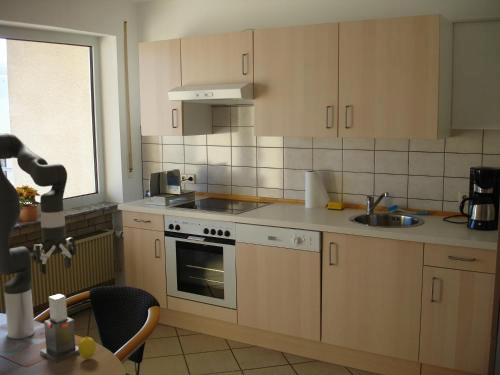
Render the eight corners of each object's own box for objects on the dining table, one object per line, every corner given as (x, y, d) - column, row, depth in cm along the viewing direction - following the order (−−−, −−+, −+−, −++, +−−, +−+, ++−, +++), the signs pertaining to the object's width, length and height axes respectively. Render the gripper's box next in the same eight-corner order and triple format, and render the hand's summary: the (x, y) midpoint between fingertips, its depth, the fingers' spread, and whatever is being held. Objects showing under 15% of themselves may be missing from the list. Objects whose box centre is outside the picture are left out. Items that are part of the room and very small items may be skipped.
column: (52, 349, 187) (48, 296, 184) (63, 345, 190) (59, 293, 187) (58, 352, 184) (54, 299, 181) (69, 348, 187) (66, 296, 185)
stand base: (40, 354, 187) (37, 321, 185) (66, 344, 194) (64, 312, 193) (55, 362, 180) (52, 328, 179) (82, 352, 188) (79, 319, 186)
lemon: (91, 363, 179) (90, 340, 178) (76, 362, 181) (74, 339, 179) (99, 356, 185) (97, 333, 184) (84, 355, 186) (82, 332, 185)
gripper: (66, 219, 188) (69, 264, 191) (27, 226, 178) (30, 273, 180) (78, 222, 183) (80, 268, 186) (38, 229, 173) (41, 278, 175)
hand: (55, 271), depth 183 cm, fingers open, 8 cm apart
